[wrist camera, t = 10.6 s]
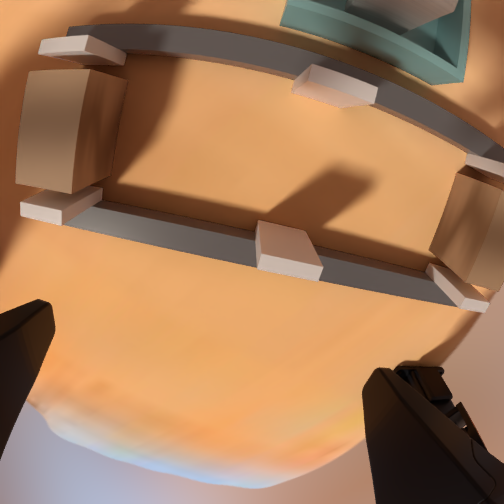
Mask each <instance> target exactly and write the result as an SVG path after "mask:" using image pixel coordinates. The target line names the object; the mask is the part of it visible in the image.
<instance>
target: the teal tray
mask: <svg viewBox="0 0 504 504" xmlns="http://www.w3.org/2000/svg"><path fill="white" fill-rule="evenodd" d="M346 2H347V0H287V2H286V5H285V8H284V12H283V15H282V19H281V22H280V26H283V27H287V28H291V29H295V30H298V31H302V32H305V33H309V34H312V35H315V36H319V37H322V38H325V39H328V40H331V41H334V42H337V43H339V44H342V45H345V46H348V47H350V48H353V49H355V50H358V51H361V52H363V53H366V54H368V55H370V56H373V57H375V58H377V59H380V60H382V61H384V62H386V63H389V64H391V65H393V66H395V67H397V68H399V69H401V70H403V71H405V72H407V73H409V74H411V75H413V76H415V77H417V78H419V79H421V80H423V81H425V82H427V83H428V84H430V85H439V84H449V83H460V82H463V81H464V75H465V68H466V61H467V53H468V44H469V33H470V18H471V0H458V3H457V5H456V8H455V10H454V12H452V13H449V14H447V15H444V16H442V17H439V18H437V19H435V20H432V21H430V22H428V23H425V24H423V25H421V26H419V27H416V28H414V29H412V30H410V31H408V32H406V33H403V34H401V35H398V34H396V33H394V32H392V31H390V30H388V29H385V28H383V27H381V26H379V25H376V24H374V23H372V22H369V21H367V20H365V19H362V18H360V17H357V16H355V15H352V14H349V13H347V12H344V10H345V6H346Z"/></svg>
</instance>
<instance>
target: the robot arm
mask: <svg viewBox="0 0 504 504" xmlns="http://www.w3.org/2000/svg"><path fill="white" fill-rule="evenodd" d="M54 334H55V321H54V315H53V309H52V305H51V304H50V303H49V302H46V301H43V300H41V299H37V300H34V301H32V302H29V303H26V304H24V305H21V306H19V307H16V308H14V309H11V310H9V311H6V312H4V313H1V314H0V459H1V457H2V454H3V451H4V449H5V446H6V444H7V441H8V439H9V436H10V434H11V432H12V429H13V427H14V425H15V422H16V420H17V418H18V416H19V413H20V411H21V409H22V407H23V404H24V403H25V401H26V399H27V396H28V394H29V392H30V390H31V388H32V386H33V384H34V382H35V380H36V378H37V376H38V373H39V371H40V368H41V366H42V363H43V361H44V358H45V356H46V353H47V351H48V348H49V346H50V344H51V341H52V339H53V337H54ZM443 373H444V369H443V368H442V367H410V366H399V367H397V368H396V369H395V370H394V371H392V370H391V369H390V368H380V367H379V368H376V369H375V370H374V371H373V373H372V374H371V376H370V378H369V379H368V381H367V382H366V384H365V385H364V387H363V390H362V399H363V410H364V423H365V435H366V443H367V448H368V454H369V460H370V466H371V473H372V479H373V485H374V493H375V500H376V504H504V463H502V462H501V461H499V460H498V459H497V458H495V457H494V456H493V455H491V454H490V453H489V452H488V451H487V448H486V447H485V444H484V442H483V440H482V439H481V437H480V435H479V433H478V431H477V429H476V427H475V425H474V423H473V422H472V420H471V418H470V416H469V415H468V413H467V411H466V409H465V408H464V406H463V404H462V403H461V402H460V403H458V404H457V405H456V407H455V406H454V405H453V403H452V401H451V399H452V397H453V396H452V393H451V392H450V390H449V388H448V387H447V385H446V383H445V382H444V380H443V378H442V377H441V376H442V375H443ZM465 425H467V427H465V428H462V427H464V426H465Z"/></svg>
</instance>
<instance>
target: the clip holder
mask: <svg viewBox="0 0 504 504" xmlns="http://www.w3.org/2000/svg"><path fill="white" fill-rule="evenodd" d="M38 54H40V55H45V56H49V57H54V58H58V59H62V60H66V61H70V62H74V63H78V64H82V65H120V66H124V64H125V60H126V56H127V54H145V55H158V56H169V57H179V58H187V59H195V60H202V61H208V62H215V63H221V64H226V65H232V66H237V67H242V68H247V69H251V70H256V71H260V72H265V73H269V74H273V75H277V76H281V77H285V78H288V79H292V80H294V83H293V87H292V91H291V93H294V94H297V95H301V96H304V97H308V98H311V99H314V100H317V101H321V102H324V103H327V104H330V105H333V106H336V107H339V108H346V107H353V106H361V105H370V106H372V107H375V108H377V109H379V110H382V111H384V112H387V113H389V114H391V115H394V116H396V117H398V118H400V119H402V120H405V121H407V122H409V123H411V124H413V125H415V126H417V127H419V128H422V129H424V130H426V131H428V132H430V133H431V134H433V135H435V136H437V137H439V138H441V139H443V140H445V141H447V142H449V143H450V144H452V145H454V146H456V147H457V148H459V149H461V150H463V151H464V152H466V153H467V157H466V160H465V164H466V165H468V166H470V167H472V168H473V169H475V170H477V171H478V172H480V173H482V174H483V175H485V176H487V177H488V178H491V179H493V180H496V181H499V182H501V183H504V148H503V147H501V146H500V145H499V144H497V143H496V142H494V141H493V140H492V139H490V138H489V137H487V136H486V135H485V134H483V133H482V132H480V131H479V130H477V129H476V128H474V127H473V126H471V125H469V124H468V123H466V122H465V121H463V120H462V119H460V118H458V117H457V116H455V115H453V114H452V113H450V112H448V111H447V110H445V109H443V108H441V107H440V106H438V105H436V104H434V103H432V102H431V101H429V100H427V99H425V98H423V97H421V96H419V95H417V94H415V93H413V92H411V91H409V90H407V89H405V88H403V87H401V86H399V85H397V84H395V83H393V82H390V81H388V80H386V79H384V78H381V77H379V76H377V75H374V74H372V73H370V72H367V71H365V70H362V69H360V68H357V67H354V66H352V65H349V64H346V63H344V62H341V61H338V60H335V59H332V58H329V57H326V56H323V55H320V54H317V53H314V52H311V51H307V50H304V49H300V48H297V47H293V46H290V45H286V44H282V43H278V42H274V41H270V40H265V39H261V38H256V37H251V36H246V35H241V34H236V33H230V32H224V31H217V30H210V29H203V28H194V27H185V26H173V25H157V24H100V25H84V26H73V27H69V29H68V32H67V35H66V37H58V38H49V39H42V41H41V44H40V48H39V51H38ZM102 192H103V188H100V187H95V186H87V187H85V188H83V189H81V190H79V191H77V192H74V193H72V194H69V193H63V192H58V191H53V190H48V189H47V190H44V191H42V192H40V193H38V194H36V195H33V196H31V197H29V198H27V199H25V200H23V201H21V202H20V214H21V216H23V217H27V218H31V219H35V220H39V221H44V222H48V223H52V224H56V225H60V226H62V225H66V226H71V227H75V228H79V229H83V230H88V231H92V232H96V233H101V234H105V235H110V236H114V237H118V238H123V239H127V240H132V241H136V242H141V243H145V244H149V245H154V246H158V247H163V248H168V249H172V250H177V251H181V252H186V253H190V254H195V255H200V256H204V257H209V258H214V259H218V260H223V261H228V262H232V263H237V264H242V265H246V266H251V267H256V268H257V269H258V270H263V271H268V272H273V273H278V274H283V275H287V276H292V277H297V278H302V279H307V280H312V281H317V282H318V281H324V282H329V283H334V284H339V285H344V286H349V287H354V288H359V289H365V290H370V291H375V292H380V293H385V294H390V295H395V296H401V297H406V298H411V299H417V300H422V301H427V302H433V303H438V304H443V305H449V306H454V307H458V308H459V309H465V310H470V311H476V312H482V313H485V312H486V310H487V309H488V307H489V305H490V302H489V301H488V300H487V299H486V298H485V297H484V296H483V295H482V294H480V293H479V292H478V291H477V290H476V289H475V288H474V287H473V286H472V285H471V284H469V283H466V282H464V281H463V280H462V279H461V278H460V277H459V276H458V275H457V274H456V273H455V272H453V271H452V270H451V269H449V268H446V267H442V266H439V265H435V264H432V263H429V264H428V266H427V269H426V271H425V272H422V271H418V270H414V269H410V268H406V267H402V266H398V265H394V264H390V263H385V262H381V261H377V260H373V259H369V258H365V257H361V256H357V255H353V254H348V253H344V252H340V251H336V250H331V249H327V248H323V247H319V246H314V245H312V243H311V241H310V239H309V237H308V235H307V233H306V231H304V230H300V229H296V228H292V227H287V226H283V225H279V224H274V223H270V222H266V221H261V220H258V221H257V225H256V229H255V232H253V231H248V230H244V229H239V228H235V227H230V226H225V225H221V224H216V223H212V222H207V221H202V220H198V219H193V218H188V217H183V216H179V215H174V214H169V213H164V212H159V211H154V210H150V209H145V208H140V207H135V206H130V205H125V204H120V203H115V202H110V201H104V200H102Z"/></svg>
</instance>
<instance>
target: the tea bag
mask: <svg viewBox="0 0 504 504" xmlns="http://www.w3.org/2000/svg"><path fill="white" fill-rule="evenodd" d="M457 3H458V0H347V2H346V6H345V10H344V12H347V13H349V14H352V15H355V16H357V17H360V18H362V19H365V20H367V21H369V22H372V23H374V24H376V25H379V26H381V27H383V28H385V29H388V30H390V31H392V32H394V33H396V34H398V35H401V34H403V33H406V32H408V31H410V30H412V29H414V28H416V27H419V26H421V25H423V24H425V23H428V22H430V21H432V20H435V19H437V18H439V17H442V16H444V15H447V14H449V13H452V12H454V10H455V8H456V5H457Z"/></svg>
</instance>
